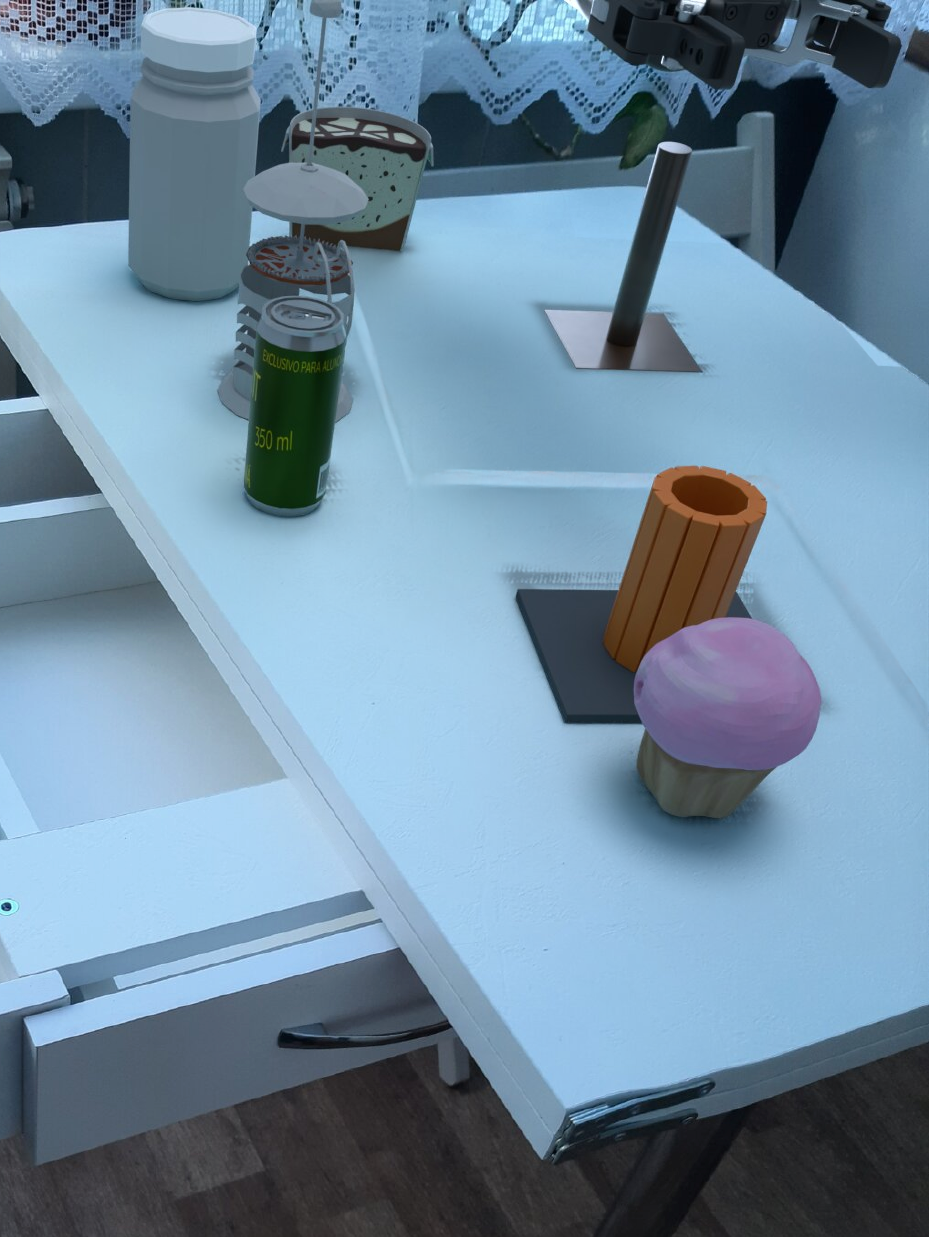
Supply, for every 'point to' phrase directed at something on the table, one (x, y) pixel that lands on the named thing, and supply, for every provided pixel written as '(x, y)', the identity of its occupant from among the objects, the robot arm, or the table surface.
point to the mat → (584, 652)
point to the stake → (635, 290)
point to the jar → (192, 153)
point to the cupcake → (721, 713)
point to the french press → (295, 247)
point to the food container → (365, 170)
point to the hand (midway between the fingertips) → (812, 66)
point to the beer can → (293, 404)
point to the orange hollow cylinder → (683, 558)
